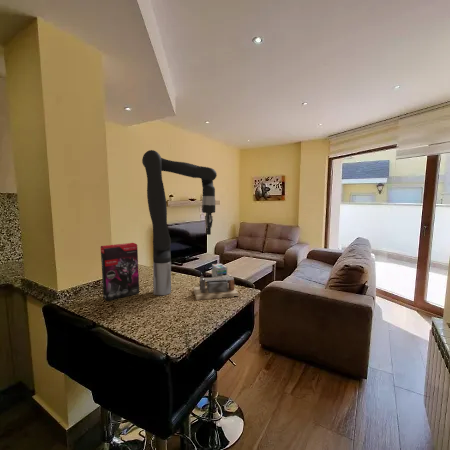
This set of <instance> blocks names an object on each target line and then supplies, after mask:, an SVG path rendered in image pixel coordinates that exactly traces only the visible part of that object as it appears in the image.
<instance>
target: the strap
mask: <svg viewBox="0 0 450 450" xmlns="http://www.w3.org/2000/svg"><path fill="white" fill-rule="evenodd" d="M201 279H205V282H207V281H223V280H227V281H229V280H234V279H235V278H234V276H230V275H229V274H227V275H222V277H214V278H212V277H204V278H200V277H199V282H200V281H201ZM234 281H235V280H234Z"/></svg>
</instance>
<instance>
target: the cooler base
mask: <svg viewBox="0 0 450 450" xmlns="http://www.w3.org/2000/svg"><path fill="white" fill-rule="evenodd" d="M200 278H205V277H204V275H202V276H199V279H200ZM193 292H194V295H195V296H194V297H195V299H196V300H197V301H199V300H211V299H213V298H214V299H223V298H222V297H227V298H235V297H234V296H238V297H239V292H238V291H237V289H236V288H235V280H227V281H226V280H223V281H205V279H201V281H200V280H199V286H193Z"/></svg>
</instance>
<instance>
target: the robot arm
mask: <svg viewBox="0 0 450 450" xmlns="http://www.w3.org/2000/svg"><path fill="white" fill-rule="evenodd" d="M141 163H142V165H143V167H144V168H145V169H144V170H145V173H146V180H147V181H146V184H147V185H146V196H147V205H148V211H149V216H150V220H151V224H152V247H153V248H152V249H153V250H152V258H153V259H152V260H153V261H152V262H153V263H152V264H153V268H152V269H153V271H152V272H153V275H152V277H153V278H152V281H153V282H152V287H153V290H152V291H153V295H154V296H155V295H156V296H167V295H169V294H171V293H172V255H171V254H172V253H171V252H172V251H171V250H172V249H171V242H172V238H171V237H170V232H169V228H168V220H167V216H168V208H167V207H168V206H167V199H166V192H165V186H164V182H163V175H162V172H167V173H173V174H178V175H181V176H184V177H188V178H193V179H201V185H202V199H201V206H202V207H201V212H202V213H204V214H205V215H204V222H205V228H206V235H207V236H208V235H209V236H210V235H211V230H212V228H213V221H214V219H213V218H214V216H212V215H213V213H214V214H215V213H216V188H215V186H214V181H215V180H216V178H217V176H218V174H217V171H216V170H215V169H213V168H212V167H208V166H199V165H195V164H193V163H189V162H184V161H176V160H170V159H166V158H163V157H161V155H160V154H159V152H157V151H156V150H154V149H150V150H148V151H147V150H146V152H145V153H143V156H142V160H141Z"/></svg>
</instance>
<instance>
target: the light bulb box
mask: <svg viewBox="0 0 450 450" xmlns="http://www.w3.org/2000/svg"><path fill="white" fill-rule="evenodd" d="M222 275H228V266H226V265H224V264H223V263H211V278H214V277H222ZM226 281H227V282H228V280H226Z"/></svg>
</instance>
